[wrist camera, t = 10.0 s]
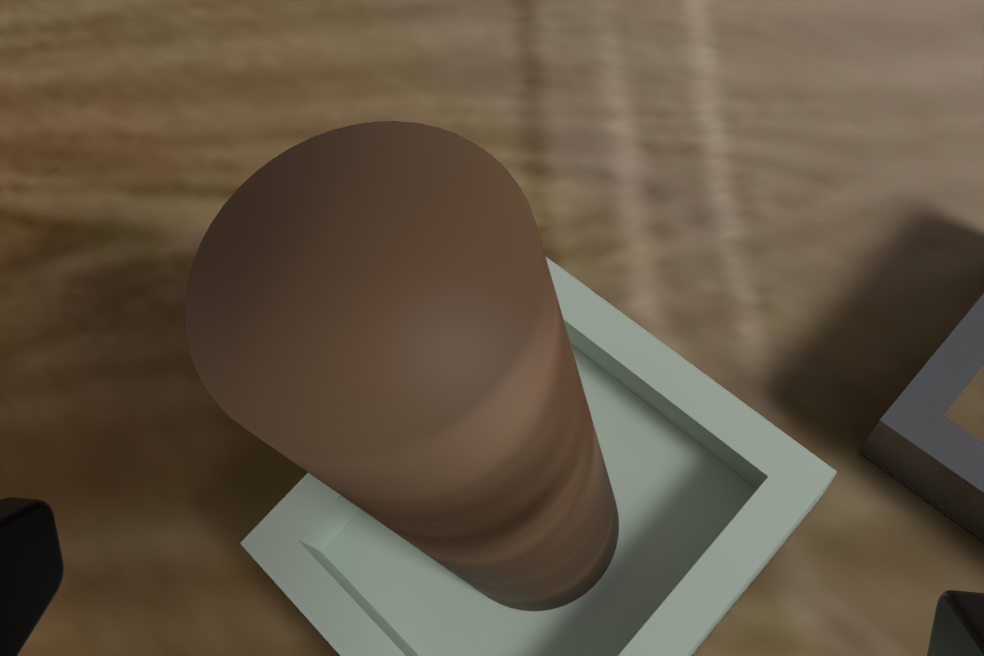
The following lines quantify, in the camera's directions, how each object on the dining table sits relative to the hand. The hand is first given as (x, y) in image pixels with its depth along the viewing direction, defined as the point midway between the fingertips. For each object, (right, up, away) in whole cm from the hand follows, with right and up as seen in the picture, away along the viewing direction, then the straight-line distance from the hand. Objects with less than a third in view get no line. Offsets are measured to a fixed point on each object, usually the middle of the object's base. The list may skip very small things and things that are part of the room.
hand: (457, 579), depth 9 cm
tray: (+2, -3, +13) cm, 14 cm away
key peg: (+1, -2, +12) cm, 13 cm away
